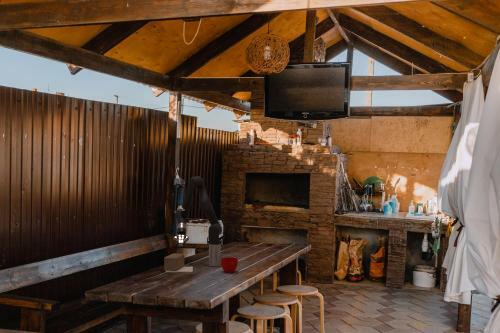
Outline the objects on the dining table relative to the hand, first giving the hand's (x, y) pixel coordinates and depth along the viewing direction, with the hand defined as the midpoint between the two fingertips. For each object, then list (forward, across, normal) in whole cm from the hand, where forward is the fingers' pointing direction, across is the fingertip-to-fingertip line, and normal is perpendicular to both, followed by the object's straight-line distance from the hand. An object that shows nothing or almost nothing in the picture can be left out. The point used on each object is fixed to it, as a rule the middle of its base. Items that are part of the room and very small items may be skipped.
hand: (180, 247), depth 403 cm
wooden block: (+7, -1, +7) cm, 10 cm away
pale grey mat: (+20, 0, +2) cm, 20 cm away
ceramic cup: (+27, +38, -5) cm, 47 cm away
